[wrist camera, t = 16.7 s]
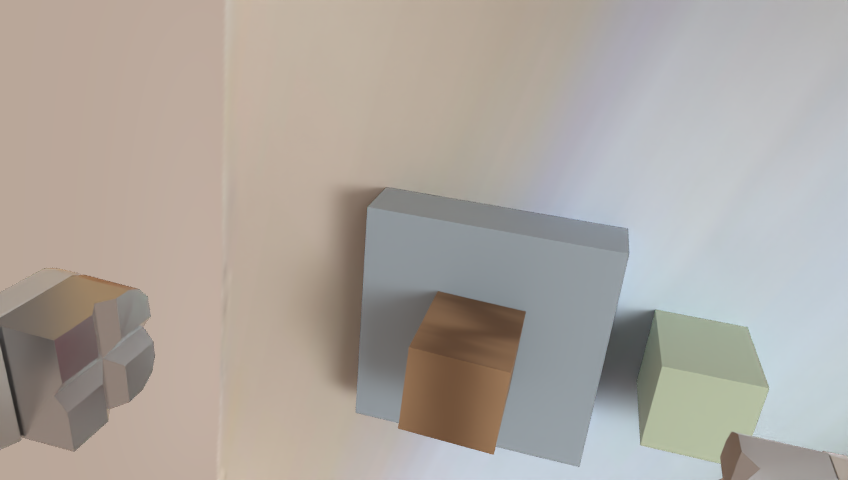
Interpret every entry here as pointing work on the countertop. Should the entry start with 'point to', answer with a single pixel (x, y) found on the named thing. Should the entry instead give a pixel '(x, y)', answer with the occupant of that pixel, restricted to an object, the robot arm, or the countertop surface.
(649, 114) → the countertop surface
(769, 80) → the countertop surface
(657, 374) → the sage block
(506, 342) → the walnut block
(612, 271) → the slate base block
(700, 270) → the countertop surface
